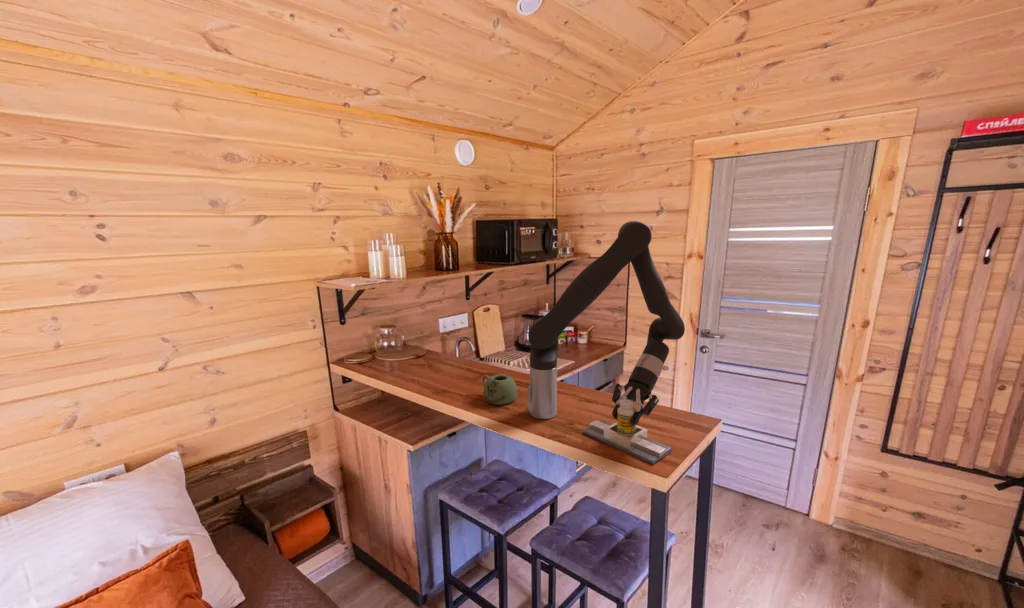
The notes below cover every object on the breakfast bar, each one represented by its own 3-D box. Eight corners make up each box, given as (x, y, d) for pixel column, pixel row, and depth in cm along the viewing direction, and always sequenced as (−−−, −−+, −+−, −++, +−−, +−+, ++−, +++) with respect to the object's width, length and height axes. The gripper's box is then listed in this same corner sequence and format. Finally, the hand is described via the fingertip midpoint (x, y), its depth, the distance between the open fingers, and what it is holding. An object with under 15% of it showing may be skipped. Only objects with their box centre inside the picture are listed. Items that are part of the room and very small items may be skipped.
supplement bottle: (634, 428, 125) (635, 398, 124) (636, 437, 120) (637, 406, 118) (616, 427, 126) (616, 397, 125) (617, 436, 121) (618, 405, 119)
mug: (524, 398, 156) (524, 376, 154) (501, 409, 147) (500, 386, 145) (494, 388, 167) (494, 367, 165) (470, 398, 157) (470, 376, 156)
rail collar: (582, 432, 129) (582, 421, 129) (602, 422, 136) (602, 411, 135) (653, 464, 112) (654, 451, 111) (671, 451, 118) (672, 438, 117)
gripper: (621, 360, 130) (597, 407, 124) (664, 371, 119) (640, 424, 114) (630, 372, 134) (607, 418, 129) (672, 384, 124) (649, 435, 118)
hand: (623, 421), depth 121 cm, fingers closed on supplement bottle, 5 cm apart
